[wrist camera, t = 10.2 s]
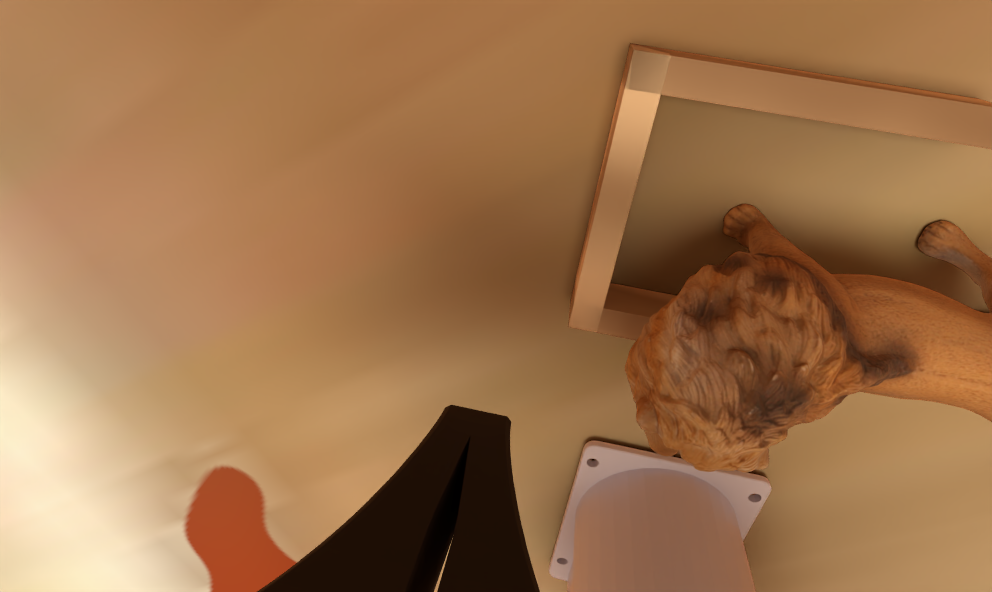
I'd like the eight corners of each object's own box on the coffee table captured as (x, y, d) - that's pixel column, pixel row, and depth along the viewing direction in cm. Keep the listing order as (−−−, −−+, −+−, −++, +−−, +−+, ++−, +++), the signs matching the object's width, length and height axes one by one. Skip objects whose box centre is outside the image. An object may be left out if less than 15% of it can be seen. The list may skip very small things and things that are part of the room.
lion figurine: (615, 329, 21) (625, 523, 14) (620, 198, 19) (637, 344, 11) (1052, 341, 19) (1369, 586, 11) (1126, 191, 16) (1602, 373, 9)
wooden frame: (838, 351, 20) (861, 385, 19) (570, 299, 21) (568, 327, 19) (978, 98, 16) (1024, 111, 14) (629, 43, 17) (633, 49, 15)
